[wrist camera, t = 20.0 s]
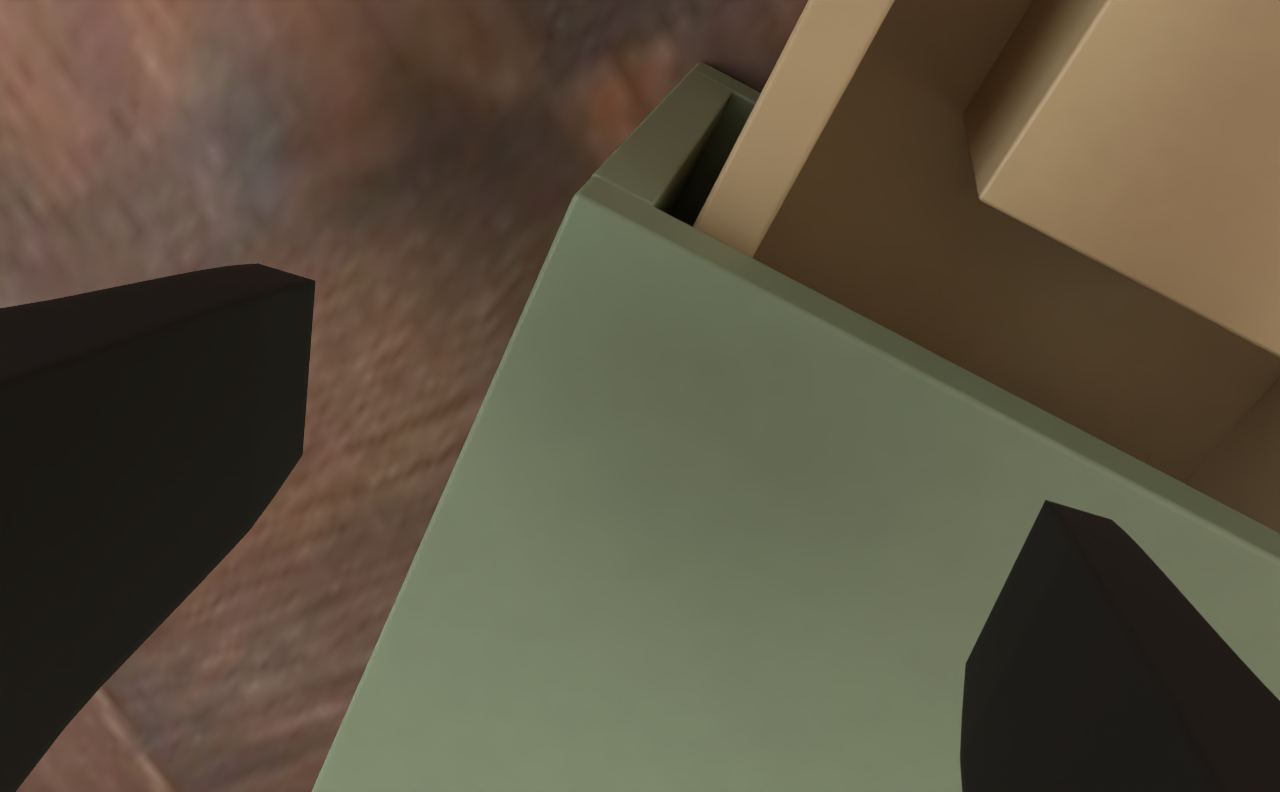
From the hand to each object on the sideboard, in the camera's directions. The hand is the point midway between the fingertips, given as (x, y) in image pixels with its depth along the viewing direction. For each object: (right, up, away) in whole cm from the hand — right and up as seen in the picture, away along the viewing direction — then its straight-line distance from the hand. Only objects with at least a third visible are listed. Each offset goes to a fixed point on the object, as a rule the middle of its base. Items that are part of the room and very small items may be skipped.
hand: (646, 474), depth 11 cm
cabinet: (+4, -2, +12) cm, 13 cm away
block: (+8, +6, +5) cm, 11 cm away
